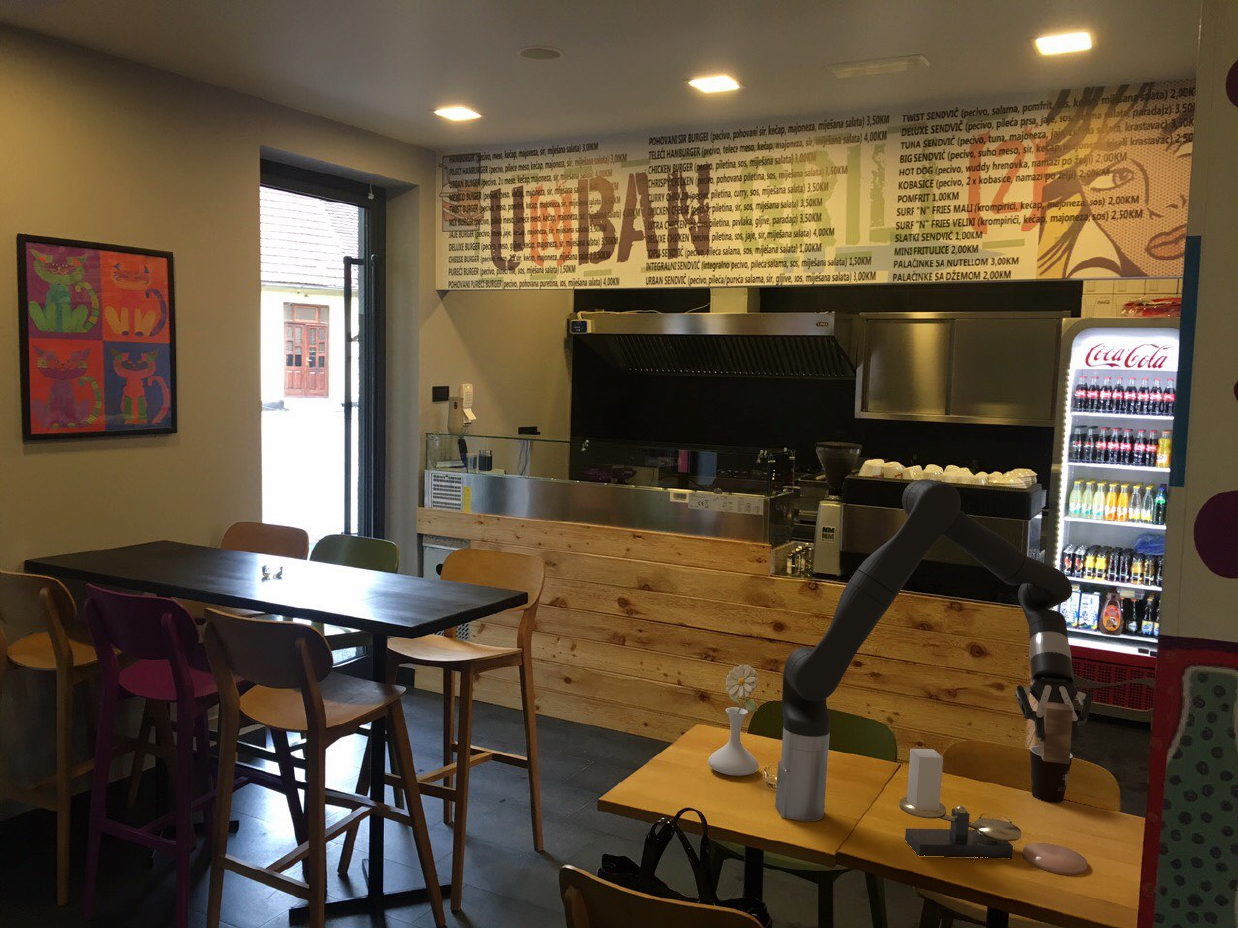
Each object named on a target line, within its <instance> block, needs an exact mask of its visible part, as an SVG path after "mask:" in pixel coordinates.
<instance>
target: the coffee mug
mask: <svg viewBox="0 0 1238 928" xmlns="http://www.w3.org/2000/svg"><path fill="white" fill-rule="evenodd" d="M1039 752H1040V745H1034V746H1030V747H1029V754H1030V756H1029V757H1030V779H1031V781H1030V782H1031V785H1030V786H1031V796H1032V797H1034V798H1035V799H1036V800H1038V801H1042V802H1046V803H1052V804H1059V803H1063V802H1064V800H1065V794H1066V789H1067V785H1068V784H1067V783H1068V780H1069V777H1070V776H1069V775H1070V771H1071V768H1072V767H1071V765H1072V762H1073V757H1074V756H1073V754H1072V753H1071V752H1070V764H1064V763H1055V762H1046V761H1043V759H1042V757H1041V755H1040V753H1039Z"/></svg>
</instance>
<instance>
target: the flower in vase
mask: <svg viewBox="0 0 1238 928" xmlns="http://www.w3.org/2000/svg"><path fill="white" fill-rule="evenodd" d="M728 672H729V673H728V674H727V676H726V679H725V682H726V683H725V686H726V687H725V692H726V693H727V695H728V696H729V699H730V700H732V702H734V703H736V704H737V705H738V706H739V707H733V706H731V707H727V708H725V712H726V714H727V716H728V718H729V725H730V727H729V729H730V732H729V733H730V734H729V739H728V741H727V743H726V744H724V745H723V746H721V748H719V749H717V750H715V751H714V752H713V753H712V754H711V755H710V756H709V758H708V760H707V763H708V765H709V767H710V768H711V769H712V770H714V771H716V772H718V773H721V774H724V775H727V776H737V777H738V776H747V775H752V774H755V773H756V772H757V771H758V770H759V768H760V766H759V762H758V760H757V758H756V757H755V756H754V755H753V754H752V753H751V752H750V751H748V750H747V749H746V748H745V747H744V746H743V744H742V742H741V730H742V724H743V721H744V719H745V717H746V716H747V715H748V713H749V712H758V711H759V709H758V707H757V705H756V703H755V700H754V699H748V698H749V696H751V695H752V692H755V689H756V688H757V686H759V682H758V680H759V678H758V676H759V674H758V672H757V671H756V670H755V669H754V668H753V667H752V666H750V665H749V664H745V665H743V664H739V666H734V667H733V669H732V670H729V671H728ZM741 698H743V699H744V701H743V703H742V704H741V703H740V702H739V700H740V699H741ZM744 706H745V708H743V707H744Z"/></svg>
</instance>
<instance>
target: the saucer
mask: <svg viewBox="0 0 1238 928" xmlns="http://www.w3.org/2000/svg"><path fill="white" fill-rule="evenodd" d="M1022 856H1023V858H1025V859H1024V860H1025V861H1026V862H1027V863H1029V864H1031V866H1034V867H1036V868H1038V869H1040V870H1043V871H1047V872H1050V873H1052V874H1053V873H1054V874H1060V875H1068V876H1071V875H1074V876H1076V875H1080V874H1084V873H1085V872H1086V871H1087V869H1088V860H1087V858H1086V857H1084V856H1083V855H1082V854H1081V853H1079V852H1077V851H1075V850H1073V849H1071V848H1067V847H1065V846H1062V845H1059V844H1054V843H1045V842H1033V843H1031V842H1030V843H1028V844H1026V845H1024V847H1023V849H1022Z"/></svg>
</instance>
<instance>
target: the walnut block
mask: <svg viewBox="0 0 1238 928" xmlns="http://www.w3.org/2000/svg"><path fill="white" fill-rule="evenodd" d="M1043 713H1044V714H1043V719H1044V727H1045V734H1046V737H1045V739H1044V741H1040V740H1039V746H1040V752H1039V753H1040V755H1041V757H1042V759H1043V761H1046V762H1055V763H1064V764H1070V753H1071V747H1072V744H1071V733H1072V717H1073V710H1072V709H1071V707H1070V706H1069V705H1067V704H1064V703H1055V702H1043Z"/></svg>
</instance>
